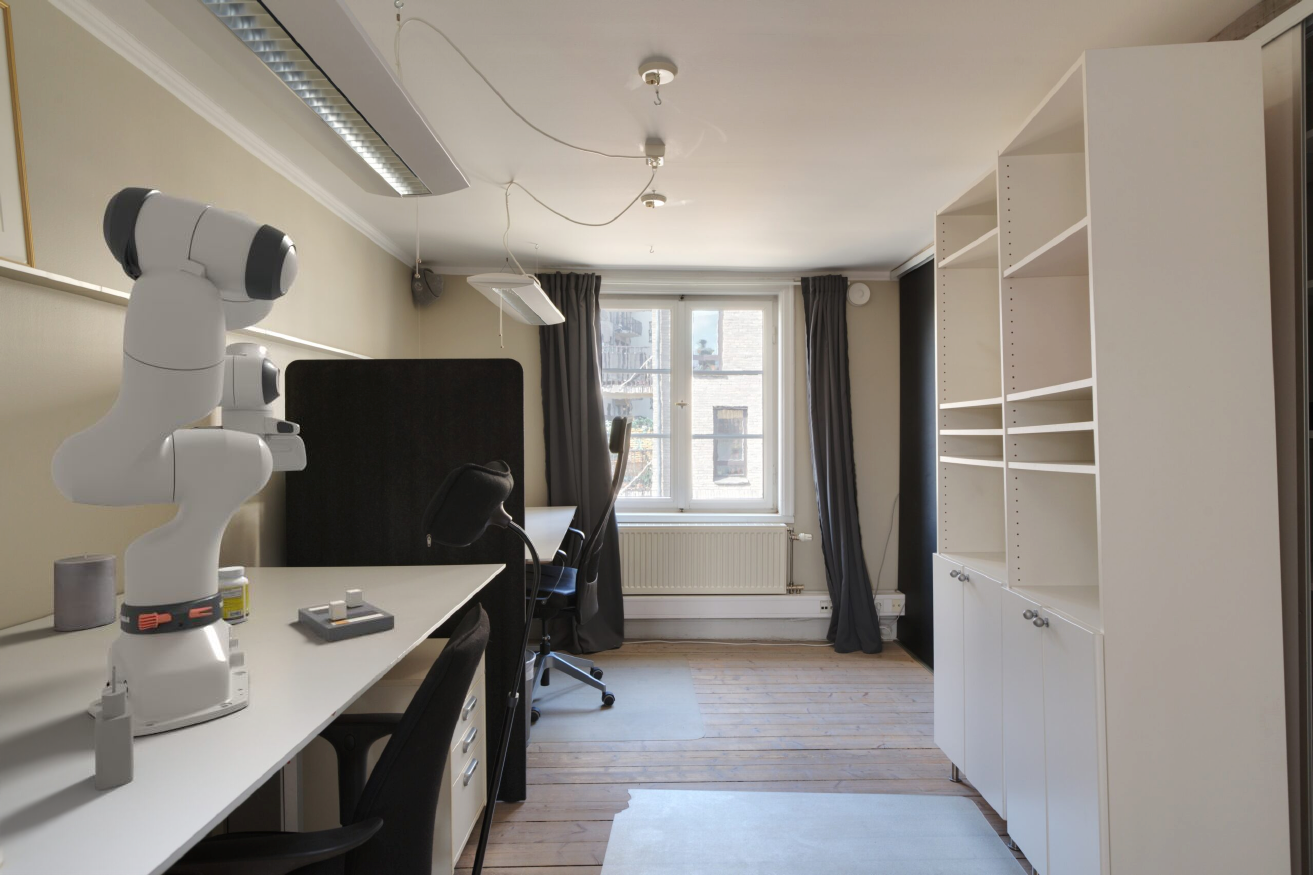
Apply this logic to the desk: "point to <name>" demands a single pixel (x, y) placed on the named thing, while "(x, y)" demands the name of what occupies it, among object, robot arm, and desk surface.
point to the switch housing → (345, 621)
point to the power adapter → (114, 737)
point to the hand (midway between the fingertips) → (249, 495)
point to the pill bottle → (234, 594)
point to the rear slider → (353, 598)
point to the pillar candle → (84, 592)
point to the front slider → (337, 610)
